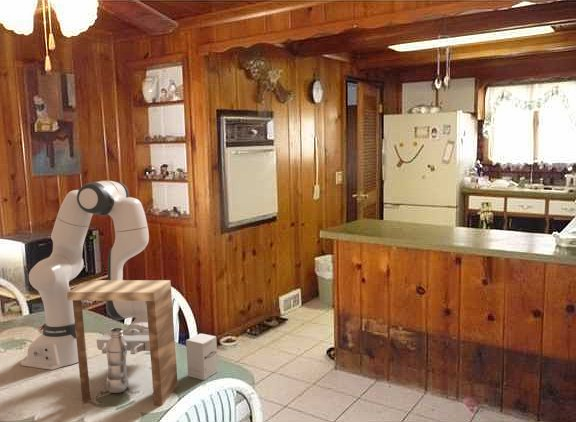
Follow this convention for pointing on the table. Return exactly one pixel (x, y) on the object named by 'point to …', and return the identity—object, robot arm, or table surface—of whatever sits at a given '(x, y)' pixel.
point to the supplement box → (202, 356)
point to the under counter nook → (158, 325)
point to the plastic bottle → (116, 362)
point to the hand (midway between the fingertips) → (118, 351)
